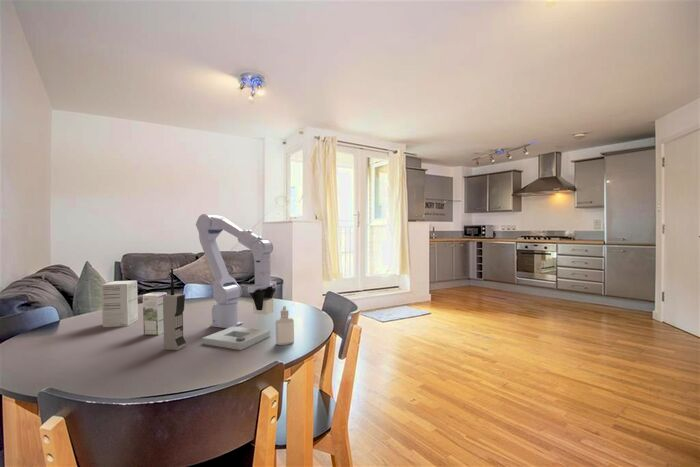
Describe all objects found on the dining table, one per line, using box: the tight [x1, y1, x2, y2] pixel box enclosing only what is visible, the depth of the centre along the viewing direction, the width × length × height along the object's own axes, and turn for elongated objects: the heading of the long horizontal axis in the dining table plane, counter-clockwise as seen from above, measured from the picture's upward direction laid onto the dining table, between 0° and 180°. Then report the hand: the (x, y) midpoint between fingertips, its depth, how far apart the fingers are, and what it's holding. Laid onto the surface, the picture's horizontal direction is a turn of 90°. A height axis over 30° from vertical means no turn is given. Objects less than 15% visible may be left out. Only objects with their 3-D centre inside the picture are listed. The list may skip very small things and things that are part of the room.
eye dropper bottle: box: [275, 305, 295, 346], centre depth 107 cm, size 4×6×12 cm
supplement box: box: [101, 280, 139, 328], centre depth 135 cm, size 10×9×17 cm
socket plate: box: [201, 326, 271, 351], centre depth 111 cm, size 16×14×3 cm
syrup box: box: [142, 292, 168, 336], centre depth 121 cm, size 6×6×14 cm
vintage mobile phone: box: [163, 268, 187, 351], centre depth 104 cm, size 4×5×25 cm
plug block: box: [252, 297, 274, 315], centre depth 124 cm, size 6×4×5 cm, turn 67°
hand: (263, 308), depth 124 cm, fingers closed on plug block, 4 cm apart
